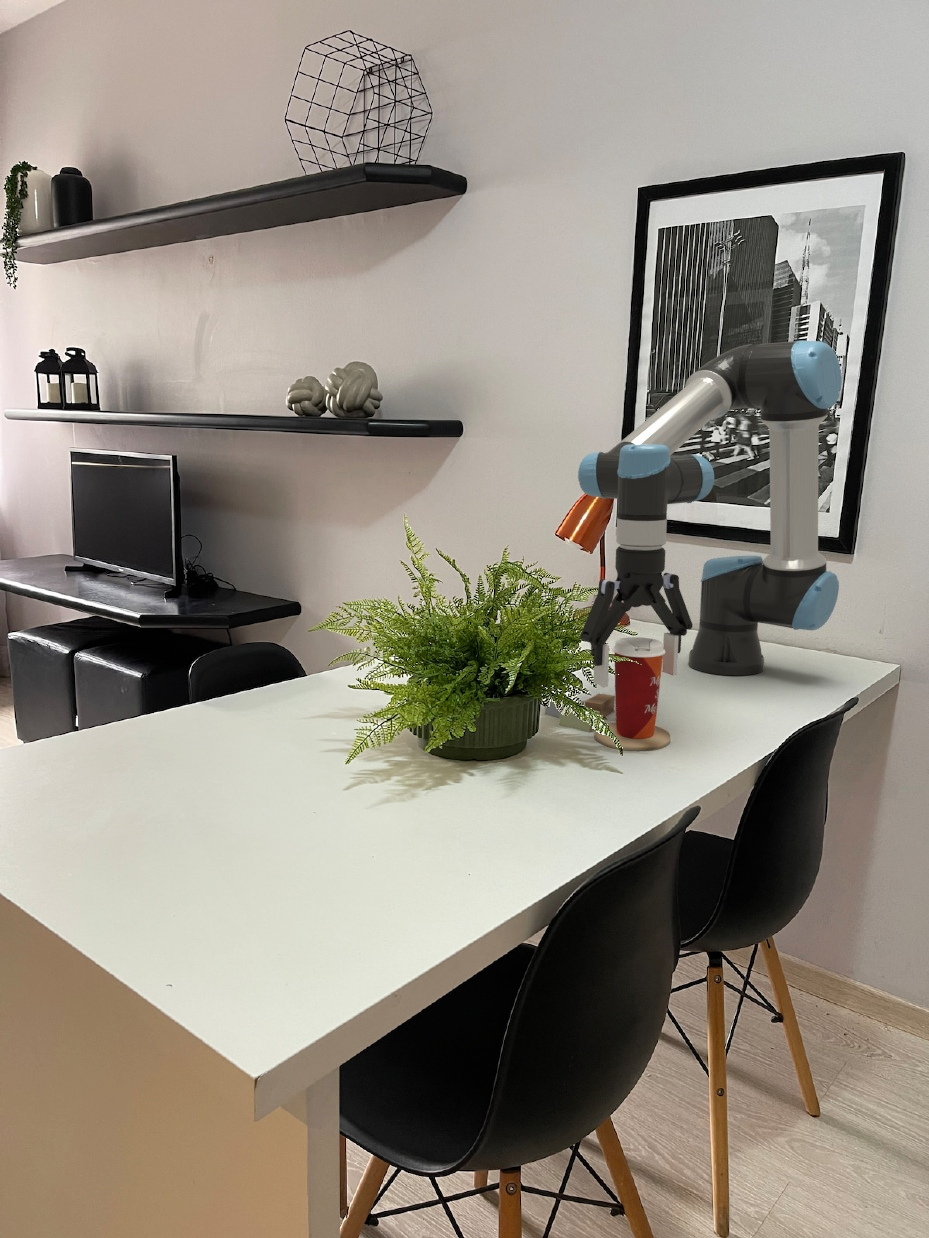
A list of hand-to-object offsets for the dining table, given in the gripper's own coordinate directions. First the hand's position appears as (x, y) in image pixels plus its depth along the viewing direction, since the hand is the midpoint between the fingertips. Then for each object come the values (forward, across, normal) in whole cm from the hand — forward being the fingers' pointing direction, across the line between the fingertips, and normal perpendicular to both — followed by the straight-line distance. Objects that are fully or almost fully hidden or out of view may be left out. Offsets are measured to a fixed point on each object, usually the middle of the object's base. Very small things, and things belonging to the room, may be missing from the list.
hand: (635, 679), depth 150 cm
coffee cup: (+9, 0, 0) cm, 9 cm away
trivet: (+10, 0, 0) cm, 10 cm away
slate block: (+10, +3, -15) cm, 18 cm away
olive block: (+10, +4, -9) cm, 14 cm away
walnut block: (+10, -3, -13) cm, 17 cm away
